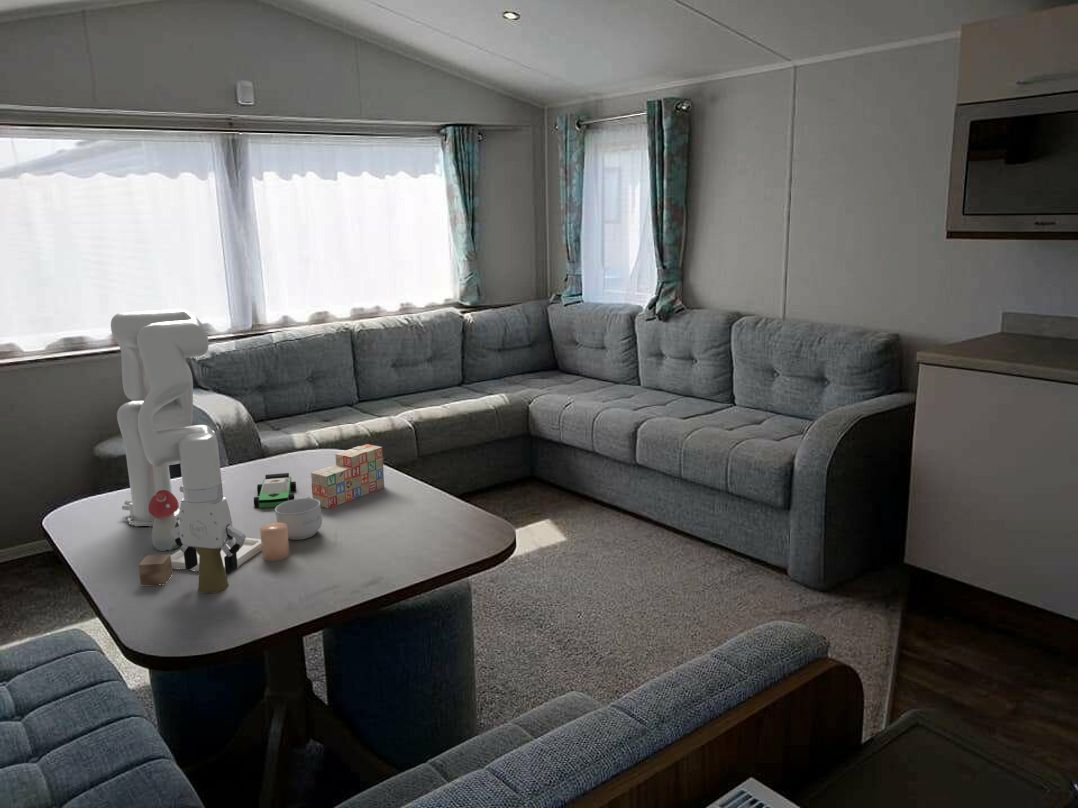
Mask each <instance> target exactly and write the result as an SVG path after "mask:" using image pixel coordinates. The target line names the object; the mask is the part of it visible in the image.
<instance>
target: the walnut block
mask: <svg viewBox="0 0 1078 808" xmlns="http://www.w3.org/2000/svg"><path fill="white" fill-rule="evenodd" d="M171 555H172V554H171V553H170V554H150V555H149V554H147V555H146V556H145V557H144V558H143V559H142V560H141V561H140V562H139V564H138V570H139V571H138V572H139V579H140V580H139V581H140V586H141V585H157V586H163V585H162V584H166V582H167V581H168V580H169V578H170V577H171V575H172V574H174V573H173V569H172V564H171ZM171 578H172V577H171ZM171 578H170V579H171ZM169 581H170V580H169ZM169 581H168V582H169ZM168 582H167V583H168ZM159 584H161V585H159ZM166 585H167V584H166Z"/></svg>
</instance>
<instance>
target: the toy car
mask: <svg viewBox="0 0 1078 808" xmlns="http://www.w3.org/2000/svg"><path fill="white" fill-rule="evenodd" d="M264 476H265V478H263V481H262V483H260V484H257V485H256V490H257V491H256V492H257V495H258V496H254V497H253V507H254V508H260V509H262V508H263V509H265V508H274V507H275V508H276V507H277V506H278V505H280V504H281V503H284V502H287V501H290V500H294V499H295V494H294V493H293V492H296V491H297V483H296V481H292V476H290V473H289V472H284V473H282V472H281V473H271V474H265V475H264Z"/></svg>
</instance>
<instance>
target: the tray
mask: <svg viewBox="0 0 1078 808" xmlns="http://www.w3.org/2000/svg"><path fill="white" fill-rule="evenodd" d="M232 541H233V542H234V543H236V539H235V538H233V540H232ZM227 546H228V545H227ZM228 548H229V549H231V548H230V547H229V546H228ZM196 552H197V551H196ZM260 552H262V545H261V538H254V537H246V538H245V540H244V543H243V546H242V547H241V548H240V549H239V551H238V552H237V553H236V554H237V564H238V565H237V568H238V567H239V566H241V565H242V564H244V563H245V562H247V561H248V560H250V559H251V558H253V557H254V556H256V555H257V554H258V553H260ZM220 553H221V557H222V561H223V565H224V569H225V561H224V557H225V556H227V555H226V554H225V553H224V551H223V550H221V552H220ZM170 555H171V564H172V568H178V569H177V570H179V568H180V569H186V567H185V560H184V552H182V551H181V550H180V549H179V550H178V551H176V552H175V553H173V554H170ZM199 556H200V555H199V554H198V553H197V561H198V564H197V565H196V566H195V567H193V568H191V569H190V570H195V571H194V572H197V571H199ZM225 573H226V571H225Z"/></svg>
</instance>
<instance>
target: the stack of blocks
mask: <svg viewBox="0 0 1078 808" xmlns="http://www.w3.org/2000/svg"><path fill="white" fill-rule="evenodd" d="M334 456H335V464H333V465H331V466H327V467H324V468H321V469H319V470H314V471H312V472H311V474H310V477H311V494H312V499H317V500H319V501H320V503H321V504H320V507H322V508H325V509H331V508H334V507H336V506H339V505H342V504H344V503H346V502H350V501H352V500H354V499H357V498H360V497H362V496H364V495H367V494H370V493H372V492H375V491H379V490H381V489H384V488H385V478H384V475H385V474H384V457H383V446H379V445H373V444H369V443H368V444H367V443H365V444H363V445H357V446H355V447H351V448H350V449H346V450H344V451H341V452H337V453H335V455H334Z"/></svg>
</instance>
